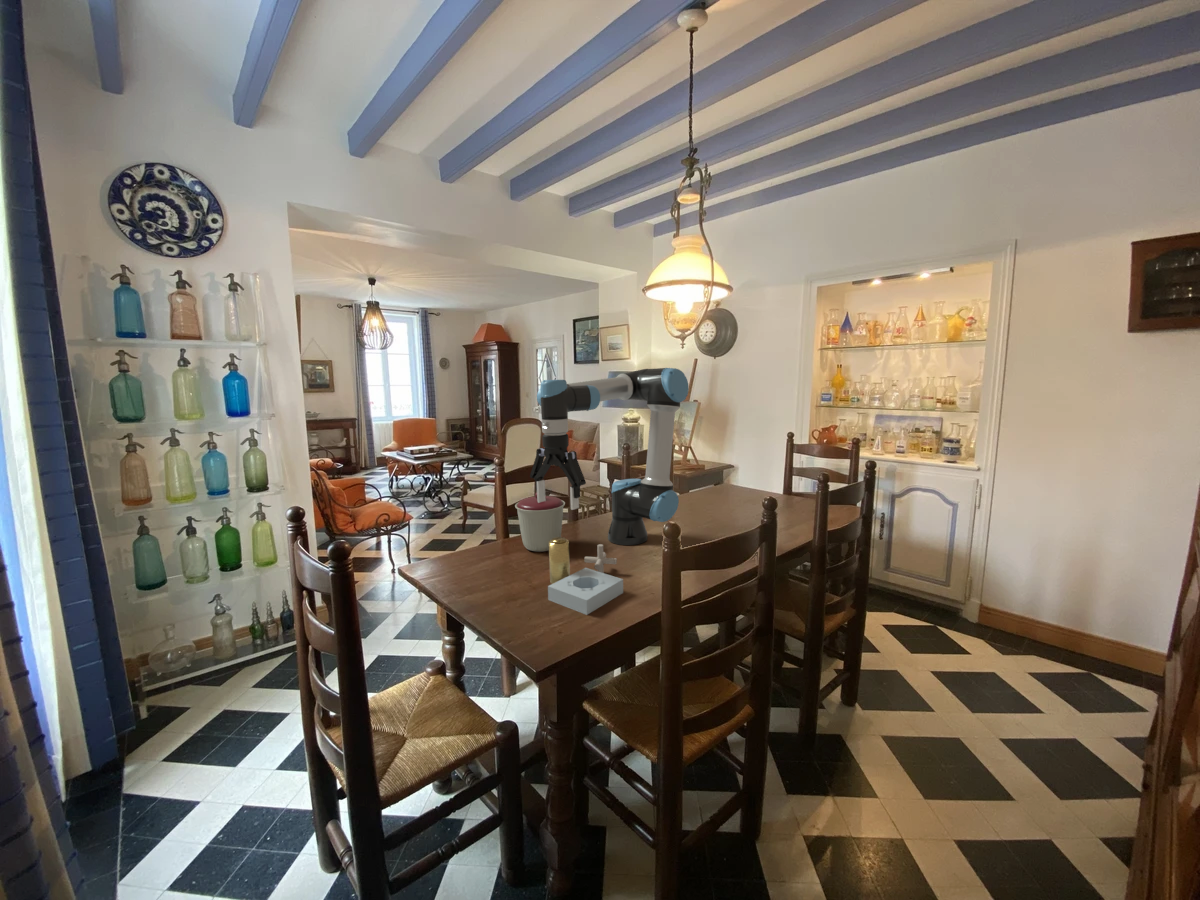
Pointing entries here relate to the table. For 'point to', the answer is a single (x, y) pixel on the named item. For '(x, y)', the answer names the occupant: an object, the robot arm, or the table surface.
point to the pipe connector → (600, 559)
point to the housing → (585, 590)
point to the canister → (540, 521)
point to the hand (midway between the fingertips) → (557, 505)
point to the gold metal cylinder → (559, 559)
